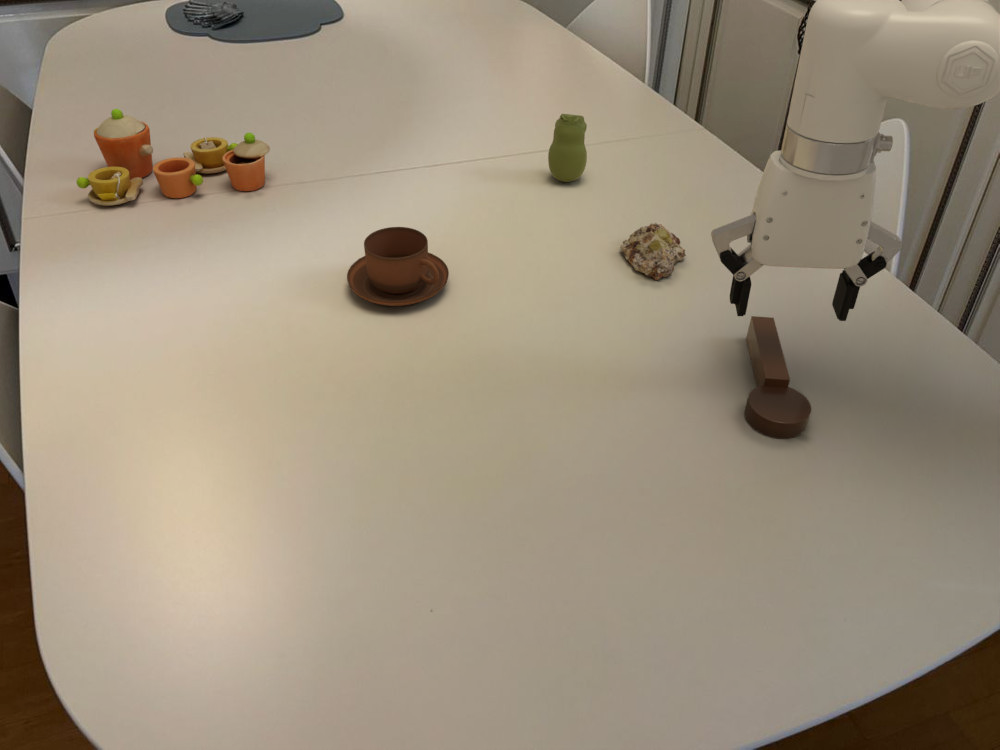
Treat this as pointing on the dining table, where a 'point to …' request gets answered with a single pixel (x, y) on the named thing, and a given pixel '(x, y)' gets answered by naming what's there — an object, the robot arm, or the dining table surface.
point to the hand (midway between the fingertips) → (788, 310)
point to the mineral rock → (653, 250)
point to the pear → (568, 148)
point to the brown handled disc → (772, 385)
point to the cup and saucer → (397, 268)
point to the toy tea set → (167, 163)
